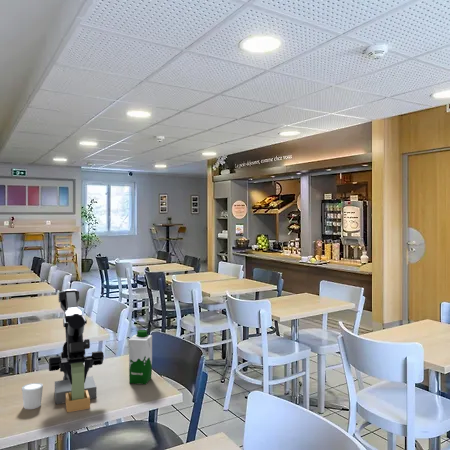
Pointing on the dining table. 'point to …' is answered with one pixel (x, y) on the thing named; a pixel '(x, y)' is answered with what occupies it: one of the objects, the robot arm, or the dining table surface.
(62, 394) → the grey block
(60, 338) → the dining table surface
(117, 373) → the dining table surface
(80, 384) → the green tall box
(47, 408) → the dining table surface
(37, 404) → the white cup
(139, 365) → the milk carton
